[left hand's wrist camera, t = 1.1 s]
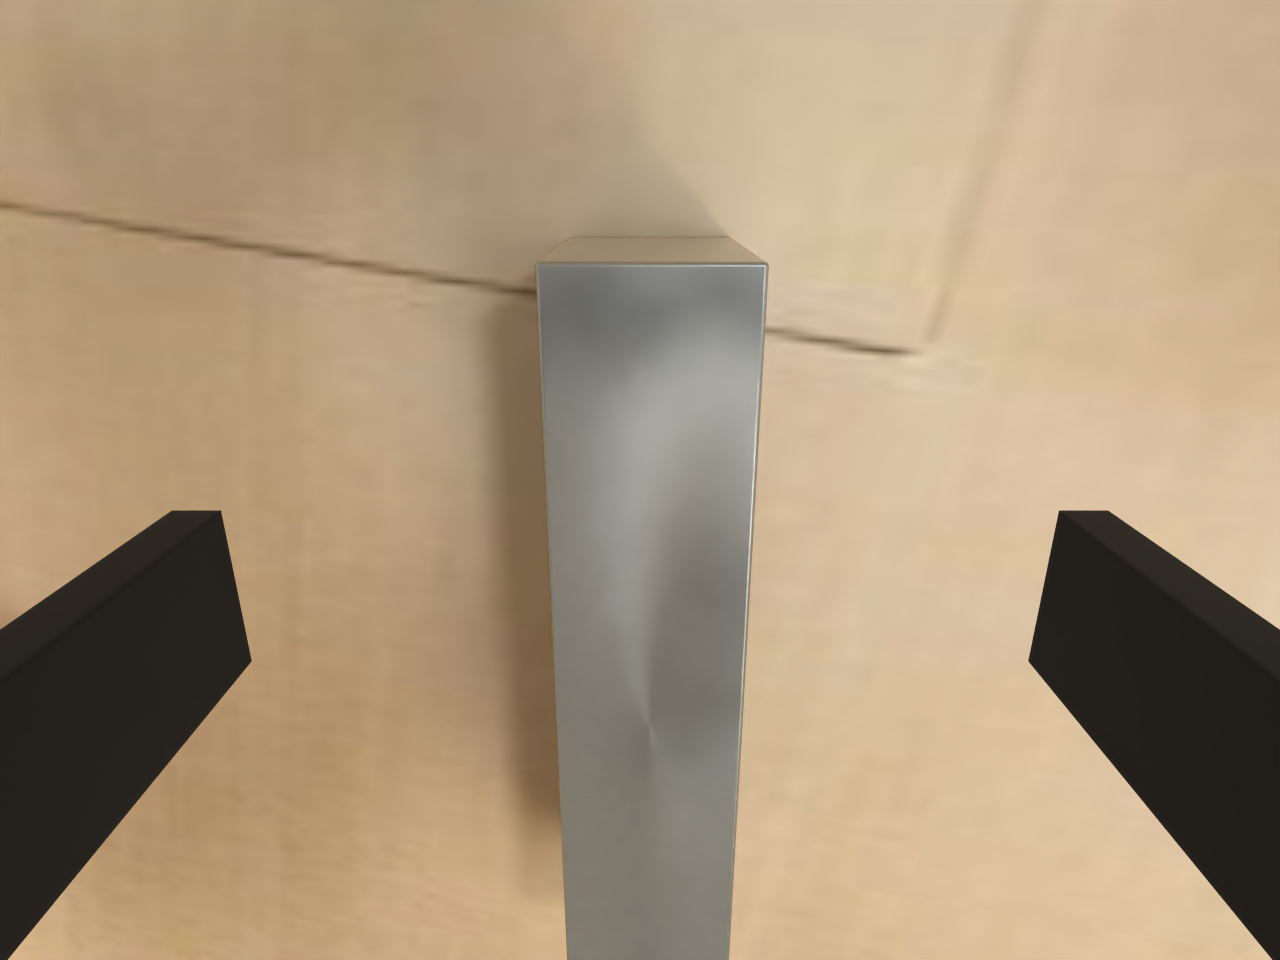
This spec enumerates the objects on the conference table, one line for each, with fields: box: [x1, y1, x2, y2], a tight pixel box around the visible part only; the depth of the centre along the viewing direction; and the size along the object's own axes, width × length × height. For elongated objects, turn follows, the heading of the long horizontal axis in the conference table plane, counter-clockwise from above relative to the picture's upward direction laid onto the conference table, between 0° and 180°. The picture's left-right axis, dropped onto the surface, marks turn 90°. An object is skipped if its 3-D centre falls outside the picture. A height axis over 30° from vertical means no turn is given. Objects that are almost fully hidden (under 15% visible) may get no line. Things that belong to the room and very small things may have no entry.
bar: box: [535, 237, 769, 960], centre depth 25 cm, size 24×5×8 cm, turn 0°
